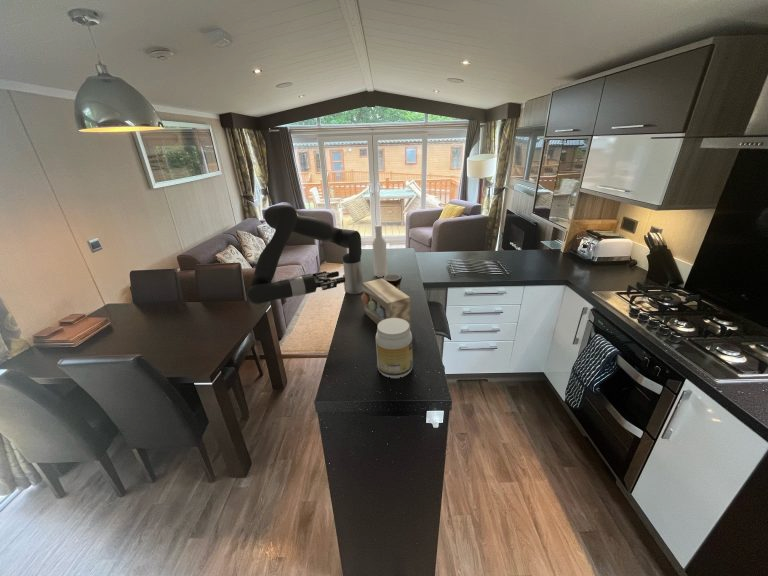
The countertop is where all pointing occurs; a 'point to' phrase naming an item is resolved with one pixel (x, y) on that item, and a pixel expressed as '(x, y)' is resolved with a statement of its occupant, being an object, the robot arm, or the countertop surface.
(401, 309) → the box
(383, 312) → the button slate
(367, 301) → the button terracotta
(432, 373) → the countertop surface
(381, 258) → the bottle
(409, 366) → the supplement tub
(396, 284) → the coffee mug
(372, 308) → the button sage
